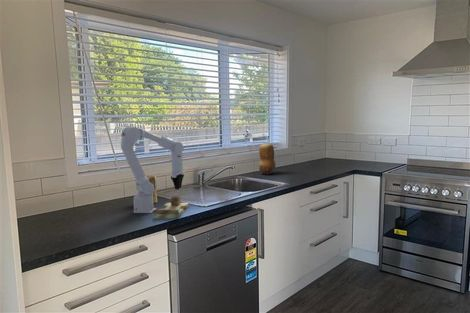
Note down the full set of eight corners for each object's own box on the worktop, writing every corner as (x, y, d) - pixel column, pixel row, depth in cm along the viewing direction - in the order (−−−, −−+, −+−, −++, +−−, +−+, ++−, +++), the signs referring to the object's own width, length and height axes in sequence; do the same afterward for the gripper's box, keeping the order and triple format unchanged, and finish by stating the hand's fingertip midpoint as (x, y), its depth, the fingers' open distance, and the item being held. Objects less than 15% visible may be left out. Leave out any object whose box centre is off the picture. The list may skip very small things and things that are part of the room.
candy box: (157, 201, 201) (156, 175, 199) (156, 203, 196) (155, 176, 195) (141, 201, 200) (140, 175, 198) (140, 203, 196) (138, 177, 194)
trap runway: (153, 218, 167) (153, 210, 167) (167, 206, 189) (166, 199, 188) (178, 218, 166) (178, 210, 166) (188, 206, 188) (188, 199, 187)
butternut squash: (257, 173, 288) (257, 142, 285) (273, 172, 289) (273, 142, 286) (260, 175, 274) (260, 144, 271) (277, 175, 275) (277, 143, 272)
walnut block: (171, 205, 182) (170, 198, 182) (173, 203, 186) (172, 196, 186) (178, 205, 182) (178, 198, 182) (180, 203, 186) (180, 196, 185)
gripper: (181, 165, 180) (182, 191, 182) (187, 161, 194) (188, 185, 196) (167, 165, 181) (168, 191, 182) (175, 161, 195) (176, 185, 197)
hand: (178, 188), depth 189 cm, fingers open, 3 cm apart
